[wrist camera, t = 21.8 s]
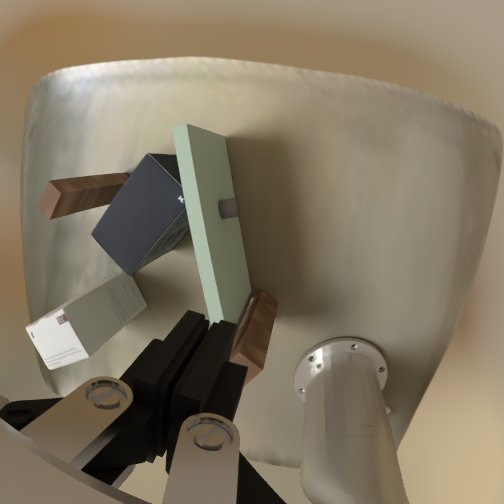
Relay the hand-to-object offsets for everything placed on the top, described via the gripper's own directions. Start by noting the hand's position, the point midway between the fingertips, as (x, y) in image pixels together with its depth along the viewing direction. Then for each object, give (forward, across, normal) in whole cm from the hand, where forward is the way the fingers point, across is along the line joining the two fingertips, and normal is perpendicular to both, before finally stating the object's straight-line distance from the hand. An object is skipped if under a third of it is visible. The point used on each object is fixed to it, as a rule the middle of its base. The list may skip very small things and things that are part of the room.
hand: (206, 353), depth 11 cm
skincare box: (+27, +19, +15) cm, 36 cm away
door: (+27, +4, +1) cm, 27 cm away
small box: (+27, +12, +1) cm, 30 cm away
